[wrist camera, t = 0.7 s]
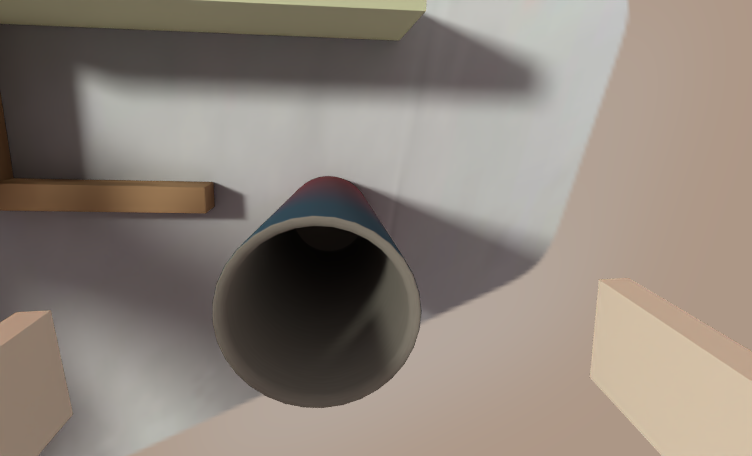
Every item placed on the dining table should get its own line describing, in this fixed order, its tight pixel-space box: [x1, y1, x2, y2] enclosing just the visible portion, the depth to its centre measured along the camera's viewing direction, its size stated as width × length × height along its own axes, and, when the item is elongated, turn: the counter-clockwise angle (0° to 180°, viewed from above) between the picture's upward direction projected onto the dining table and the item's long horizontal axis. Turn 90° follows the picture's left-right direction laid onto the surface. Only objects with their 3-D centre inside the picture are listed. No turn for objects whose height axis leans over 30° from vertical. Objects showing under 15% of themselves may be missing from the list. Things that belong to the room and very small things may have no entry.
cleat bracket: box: [0, 93, 215, 213], centre depth 25 cm, size 13×10×5 cm
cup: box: [212, 176, 421, 408], centre depth 23 cm, size 7×7×15 cm
